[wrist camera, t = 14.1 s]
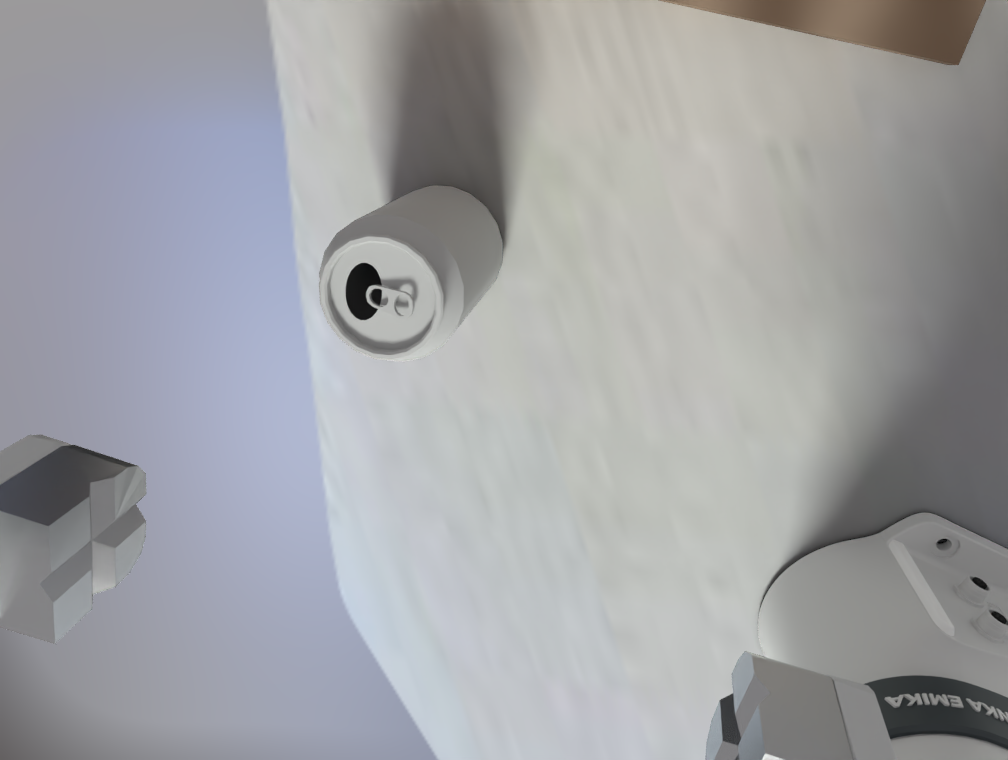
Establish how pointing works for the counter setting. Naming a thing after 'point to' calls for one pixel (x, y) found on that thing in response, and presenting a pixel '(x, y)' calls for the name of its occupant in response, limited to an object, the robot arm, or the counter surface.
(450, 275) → the can
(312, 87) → the counter surface
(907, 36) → the buzz board
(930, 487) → the counter surface
